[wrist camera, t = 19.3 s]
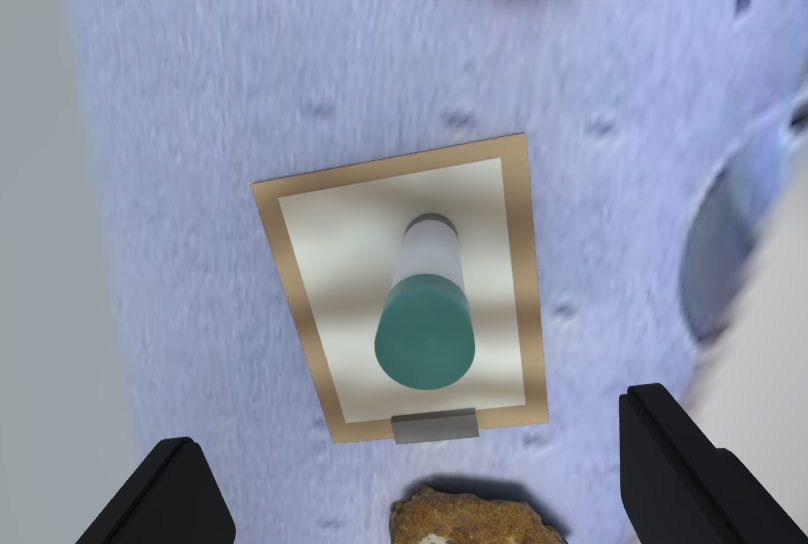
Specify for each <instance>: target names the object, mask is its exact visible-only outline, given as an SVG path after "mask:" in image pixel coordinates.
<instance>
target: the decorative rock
mask: <svg viewBox="0 0 808 544" xmlns="http://www.w3.org/2000/svg"><path fill="white" fill-rule="evenodd" d="M391 512H392V514H391V515H390V521H389V531H390V536H391V544H568V543H567V542H566V541H565V540H564V538H563V537H562V536H561V534H560V533H559V532H558V531H557V530H555V529H554V528H553V527H551V526H548V525H546V526H544V525H543V524H542V522H541V517H540V516H539V515H538V514H537V513H536V512H535V511H534V510H533V509H532V508H531V507H530V506H529V504H528V503H527V502H526V501H524V502H515V501H511V500H488V501H487V500H482V499H481V498H479V497H478V496H476V495H473V494H469V493H462V494H447V493H444V492H439V490H434V489H433V488H432V487H429V486H427V485H424V484H423V485H422V487H421V488H420V490H419V491H418V492H416V493H414V494H413V495H412V496H411V498H410V499H408V500H407V501H406V502H405V503H402V502H395V503H394V504H393V505H392V508H391Z"/></svg>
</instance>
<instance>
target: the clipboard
mask: <svg viewBox="0 0 808 544" xmlns="http://www.w3.org/2000/svg"><path fill="white" fill-rule="evenodd" d="M250 186H251V189H252V192H253V195H254V198H255V202H256V205H257V208H258V211H259V214H260V217H261V220H262V223H263V226H264V229H265V233H266V236H267V239H268V242H269V245H270V248H271V251H272V254H273V257H274V260H275V264H276V267H277V270H278V273H279V276H280V279H281V282H282V285H283V288H284V291H285V295H286V298H287V301H288V304H289V307H290V310H291V313H292V316H293V319H294V322H295V326H296V329H297V332H298V335H299V338H300V341H301V344H302V347H303V350H304V353H305V356H306V360H307V363H308V366H309V369H310V372H311V375H312V378H313V381H314V384H315V387H316V391H317V394H318V397H319V400H320V403H321V406H322V409H323V412H324V415H325V418H326V422H327V425H328V428H329V431H330V434H331V437H332V440H333V443H334V444H336V443H346V442H357V441H367V440H377V439H388V438H395V442H396V445H397V444H408V443H419V442H429V441H440V440H451V439H461V438H472V437H479V431H478V430H481V429H491V428H502V427H512V426H523V425H533V424H543V423H549V419H548V406H547V393H546V381H545V368H544V355H543V342H542V330H541V317H540V304H539V292H538V279H537V266H536V254H535V241H534V228H533V216H532V203H531V190H530V178H529V165H528V152H527V140H526V133H524V132H523V133H518V134H513V135H507V136H502V137H497V138H491V139H486V140H481V141H475V142H470V143H465V144H459V145H454V146H449V147H443V148H438V149H433V150H427V151H422V152H417V153H411V154H406V155H401V156H395V157H390V158H385V159H379V160H374V161H369V162H363V163H358V164H353V165H347V166H342V167H336V168H331V169H326V170H320V171H315V172H310V173H304V174H299V175H294V176H288V177H283V178H278V179H272V180H267V181H262V182H256V183H253V184H251V185H250ZM426 213H436V214H440V215H443V216H445V217H446V218H448V219H449V220H450V221H451V222H452V223H453V225H454V226H455V228H456V230H457V234H458V241H459V249H460V256H461V264H462V272H463V279H464V287H465V294H466V297H467V299H468V302H469V306H470V312H471V319H472V326H473V333H474V340H475V356H474V359H473V362H472V364H471V367H470V368H469V370H468V371H467V372H466V373H465V375H464V376H463V377H461V378H460V379H459V380H458V381H456V382H455V383H453V384H451V385H449V386H446V387H444V388H440V389H435V390H417V389H413V388H409V387H406V386H404V385H401V384H399V383H398V382H396V381H394V380H393V379H392V378H390V377H389V376H388V375H387V374H386V373H385V372H384V371H383V369H382V368H381V366H380V365H379V363H378V361H377V358H376V355H375V349H374V341H375V336H376V332H377V329H378V325H379V321H380V317H381V314H382V310H383V306H384V303H385V300H386V297H387V295H388V293H389V292H390V289H391V286H392V282H393V278H394V274H395V270H396V266H397V262H398V258H399V254H400V250H401V246H402V243H403V239H404V235H405V231H406V229H407V227H408V225H409V224H410V222H411V221H412V220H413V219H415V218H416V217H418V216H420V215H422V214H426Z"/></svg>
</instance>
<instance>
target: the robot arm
mask: <svg viewBox="0 0 808 544" xmlns="http://www.w3.org/2000/svg"><path fill="white" fill-rule="evenodd" d="M619 429H620V491H621V498H622V502H623V505H624V508H625V511H626V513H627V515H628V517H629V519H630V521H631V523H632V525H633V527H634V529H635V531H636V534H637V536H638V538H639V540H640V542H641V544H808V537H807V536H806V535H805V534H804V533H803V531H802V530H801V529H800V528H799V527H798V526H797V524H796V523H795V522H794V521H793V520H792V519H791V518H790V516H788V514H787V513H786V512H785V511H784V510H783V509H782V507H781V506H780V505H779V504H778V503H777V502H776V501H775V500H774V498H773V497H772V496H771V495H770V494H769V493H768V492H767V490H766V489H765V488H764V487H763V486H762V485H761V484H760V483H759V481H758V480H757V479H756V478H755V477H754V476H753V475H752V473H751V472H750V471H749V470H748V469H747V468H746V467H745V465H744V464H743V463H742V462H741V461H740V460H739V459H738V458H737V457H736V456H735V455H734V454H733V453H732V452H731V451H729V450H727V449H725V448H717V449H716V448H715V447H714V445H713V444H712V443H711V442H710V441H709V440H708V438H707V437H706V436H705V435H704V434H703V432H702V431H701V430H700V429H699V428H698V426H697V425H696V424H695V423H694V422H693V420H692V419H691V418H690V417H689V416H688V414H687V413H686V412H685V411H684V410H683V409H682V407H681V406H680V405H679V404H678V403H677V401H676V400H675V399H674V398H673V397H672V395H671V394H670V393H669V392H668V391H667V389H666V388H665V387H664V386H663V385H662V384H660V383H653V384H644V385H635V386H630V387H628V390H627V394H622V395H620V397H619ZM235 535H236V528H235V524H234V521H233V519H232V517H231V515H230V512H229V510H228V508H227V506H226V503H225V501H224V499H223V497H222V494H221V492H220V490H219V488H218V485H217V483H216V481H215V479H214V476H213V474H212V472H211V470H210V467H209V465H208V463H207V461H206V458H205V456H204V454H203V452H202V449H201V447H200V446H199V444H198V443H195V442H194V441H193V440H192V439H191V438H190V437H179V438H170V439H164V440H161V441H160V442H159V443H158V444H157V445H156V446H155V447H154V448H153V450H152V451H151V452H150V453H149V454H148V456H147V457H146V458H145V459H144V460H143V462H142V463H141V464H140V465H139V467H138V468H137V469H136V470H135V471H134V473H133V474H132V475H131V477H130V478H129V479H128V480H127V481H126V483H125V484H124V485H123V486H122V487H121V488H120V490H119V491H118V492H117V493H116V495H115V496H114V497H113V498H112V499H111V501H110V502H109V503H108V504H107V506H106V507H105V508H104V509H103V510H102V512H101V513H100V514H99V515H98V517H97V518H96V519H95V520H94V521H93V523H92V524H91V525H90V526H89V527H88V529H87V530H86V531H85V532H84V534H83V535H82V536H81V537H80V539H79V540H78V541H77V542H76V543H75V544H233V543H234V540H235Z"/></svg>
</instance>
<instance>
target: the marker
mask: <svg viewBox="0 0 808 544" xmlns="http://www.w3.org/2000/svg"><path fill="white" fill-rule="evenodd" d="M374 349H375V355H376V358H377V361H378V363H379V365H380V366H381V368H382V369H383V371H384V372H385V373H386V374H387V375H388V376H389V377H390V378H392V379H393V380H394V381H396V382H398V383H399V384H401V385H404V386H406V387H409V388H413V389H417V390H435V389H440V388H444V387H446V386H449V385H451V384H453V383H455V382H456V381H458V380H459V379H460V378H461V377H463V376H464V375H465V373H466V372H467V371H468V370H469V368H470V367H471V364H472V362H473V359H474V356H475V340H474V333H473V326H472V319H471V312H470V306H469V302H468V299H467V297H466V294H465V287H464V279H463V272H462V264H461V256H460V249H459V241H458V234H457V230H456V228H455V226H454V225H453V223H452V222H451V221H450V220H449V219H448V218H446V217H445V216H443V215H440V214H436V213H426V214H422V215H420V216H418V217H416V218H415V219H413V220H412V221H411V222H410V224H409V225H408V227H407V229H406V231H405V235H404V239H403V243H402V246H401V250H400V254H399V258H398V262H397V266H396V270H395V274H394V278H393V282H392V286H391V289H390V292H389V293H388V295H387V297H386V300H385V303H384V306H383V310H382V314H381V317H380V321H379V325H378V329H377V332H376V336H375V341H374Z"/></svg>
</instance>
